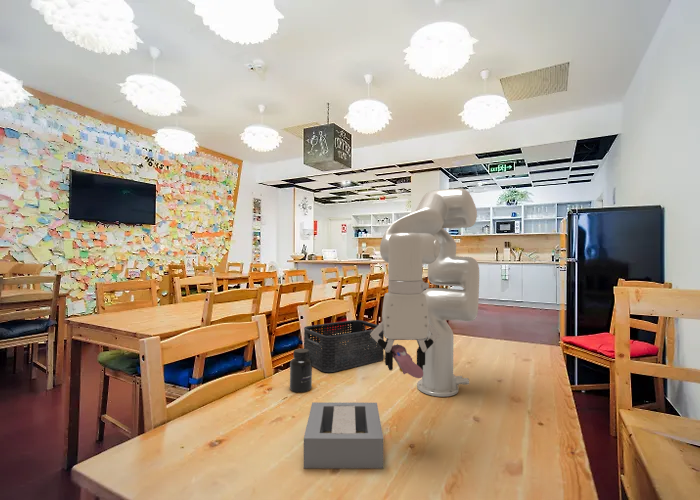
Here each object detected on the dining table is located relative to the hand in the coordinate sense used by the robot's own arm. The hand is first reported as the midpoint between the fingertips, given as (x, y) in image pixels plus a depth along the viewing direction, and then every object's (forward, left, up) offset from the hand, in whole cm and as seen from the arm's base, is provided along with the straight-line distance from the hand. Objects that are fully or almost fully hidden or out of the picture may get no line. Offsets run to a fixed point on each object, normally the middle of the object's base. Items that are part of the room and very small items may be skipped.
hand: (404, 367), depth 77 cm
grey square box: (+14, 0, -17) cm, 22 cm away
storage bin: (+14, -59, -18) cm, 63 cm away
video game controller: (0, 0, -1) cm, 1 cm away
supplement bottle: (+28, -31, -18) cm, 45 cm away
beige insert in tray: (+14, 0, -13) cm, 19 cm away
